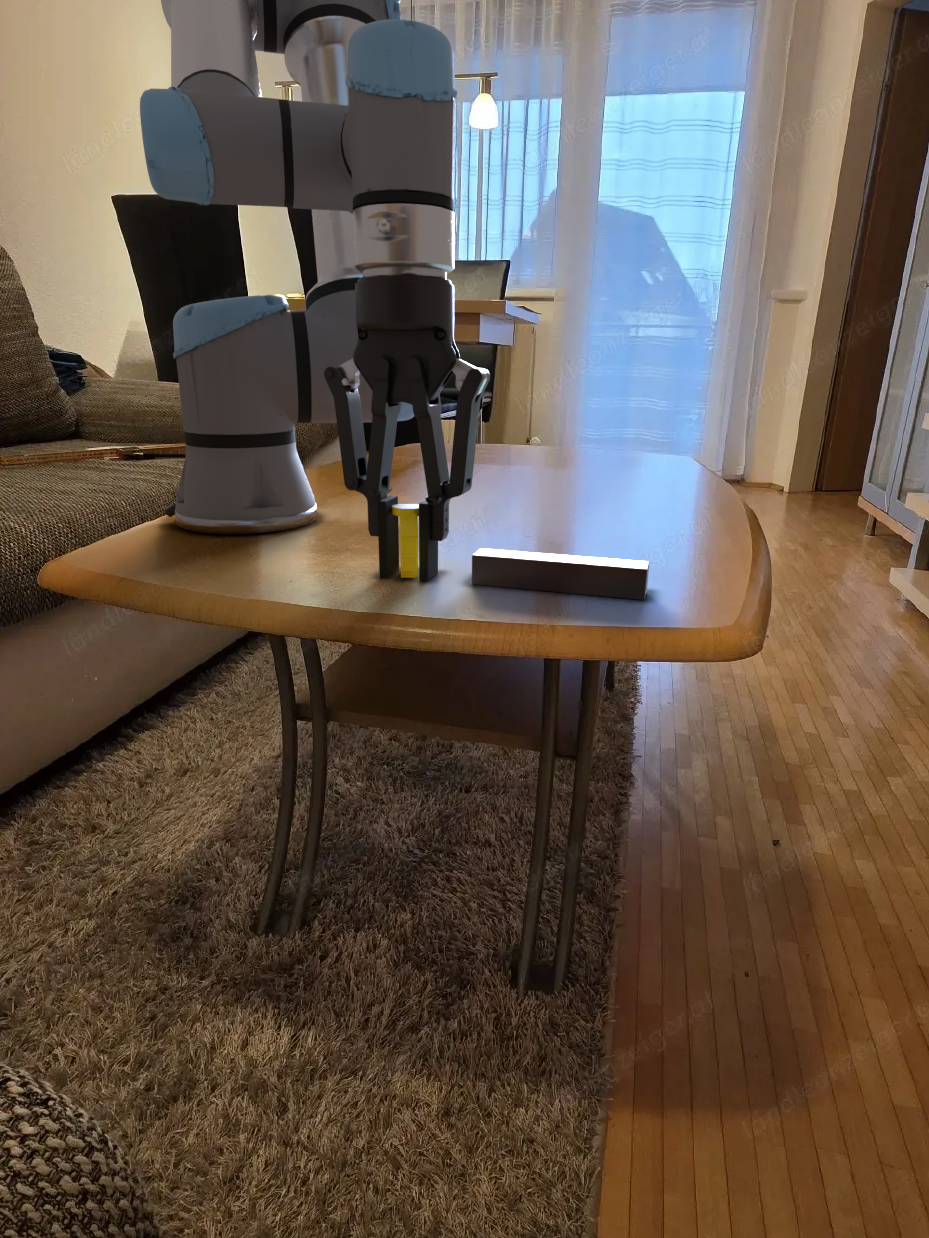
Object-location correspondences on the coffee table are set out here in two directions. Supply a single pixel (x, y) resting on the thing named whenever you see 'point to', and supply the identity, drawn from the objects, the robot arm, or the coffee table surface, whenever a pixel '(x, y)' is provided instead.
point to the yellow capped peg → (408, 538)
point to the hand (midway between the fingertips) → (409, 574)
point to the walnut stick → (561, 573)
